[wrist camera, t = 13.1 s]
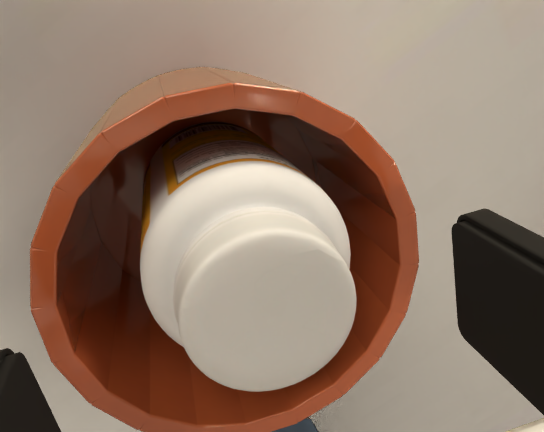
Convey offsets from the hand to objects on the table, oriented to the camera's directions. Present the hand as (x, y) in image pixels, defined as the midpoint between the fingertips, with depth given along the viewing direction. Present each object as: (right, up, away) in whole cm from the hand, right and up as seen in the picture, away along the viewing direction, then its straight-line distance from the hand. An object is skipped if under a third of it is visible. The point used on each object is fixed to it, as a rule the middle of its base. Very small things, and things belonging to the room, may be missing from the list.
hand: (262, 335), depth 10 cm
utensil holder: (-3, +3, +10) cm, 11 cm away
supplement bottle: (-2, +4, +10) cm, 11 cm away
